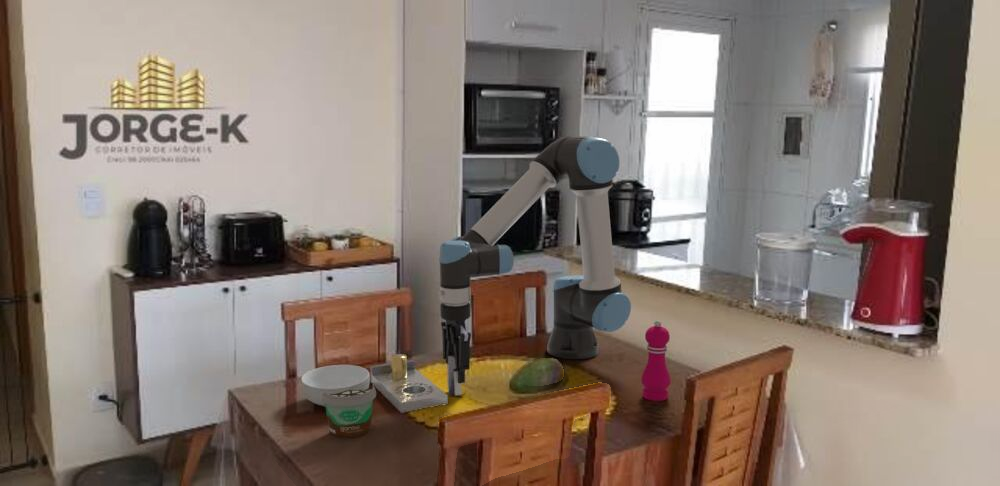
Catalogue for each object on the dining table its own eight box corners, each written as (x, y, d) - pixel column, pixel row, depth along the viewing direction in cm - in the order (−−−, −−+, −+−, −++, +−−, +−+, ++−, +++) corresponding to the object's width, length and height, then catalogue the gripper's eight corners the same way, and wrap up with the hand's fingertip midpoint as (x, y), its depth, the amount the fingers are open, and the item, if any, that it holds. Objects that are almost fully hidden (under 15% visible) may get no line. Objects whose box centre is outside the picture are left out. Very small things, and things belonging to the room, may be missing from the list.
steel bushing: (460, 389, 207) (460, 352, 205) (466, 394, 203) (466, 357, 202) (446, 392, 205) (445, 355, 203) (452, 397, 202) (451, 359, 200)
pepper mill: (651, 389, 207) (654, 315, 203) (675, 396, 202) (678, 320, 198) (635, 396, 202) (637, 320, 198) (659, 404, 197) (661, 326, 193)
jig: (413, 375, 218) (412, 347, 216) (447, 404, 197) (447, 373, 195) (370, 382, 213) (369, 353, 211) (401, 412, 191) (400, 381, 190)
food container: (328, 444, 174) (326, 400, 172) (322, 433, 179) (321, 391, 178) (383, 435, 179) (382, 392, 177) (376, 425, 184) (375, 383, 183)
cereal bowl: (298, 395, 203) (297, 368, 202) (363, 387, 209) (362, 361, 208) (306, 419, 188) (305, 390, 187) (376, 410, 193) (375, 382, 192)
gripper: (428, 297, 206) (430, 383, 210) (455, 312, 191) (456, 404, 195) (455, 293, 209) (456, 379, 213) (483, 308, 194) (483, 399, 198)
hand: (456, 391), depth 204 cm, fingers closed on steel bushing, 4 cm apart
